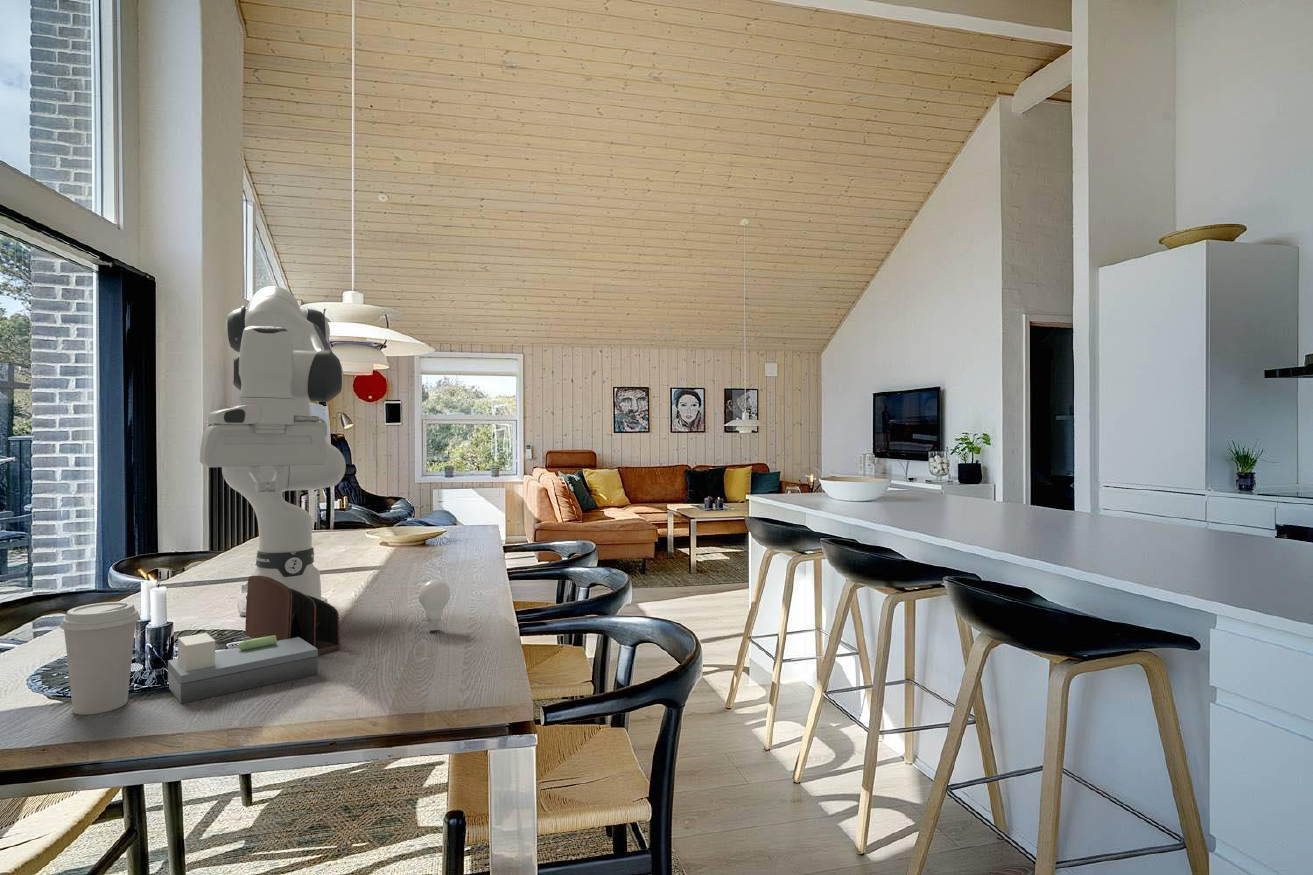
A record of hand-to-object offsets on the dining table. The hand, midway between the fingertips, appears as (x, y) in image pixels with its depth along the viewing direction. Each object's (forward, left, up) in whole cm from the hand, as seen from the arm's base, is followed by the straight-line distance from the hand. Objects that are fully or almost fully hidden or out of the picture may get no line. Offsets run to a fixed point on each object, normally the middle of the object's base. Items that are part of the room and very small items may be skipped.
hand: (266, 491), depth 127 cm
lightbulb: (+1, +32, -31) cm, 45 cm away
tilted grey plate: (+7, -5, -28) cm, 29 cm away
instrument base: (+7, -5, -31) cm, 32 cm away
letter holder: (-9, +7, -32) cm, 33 cm away
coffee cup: (+5, -24, -31) cm, 40 cm away
